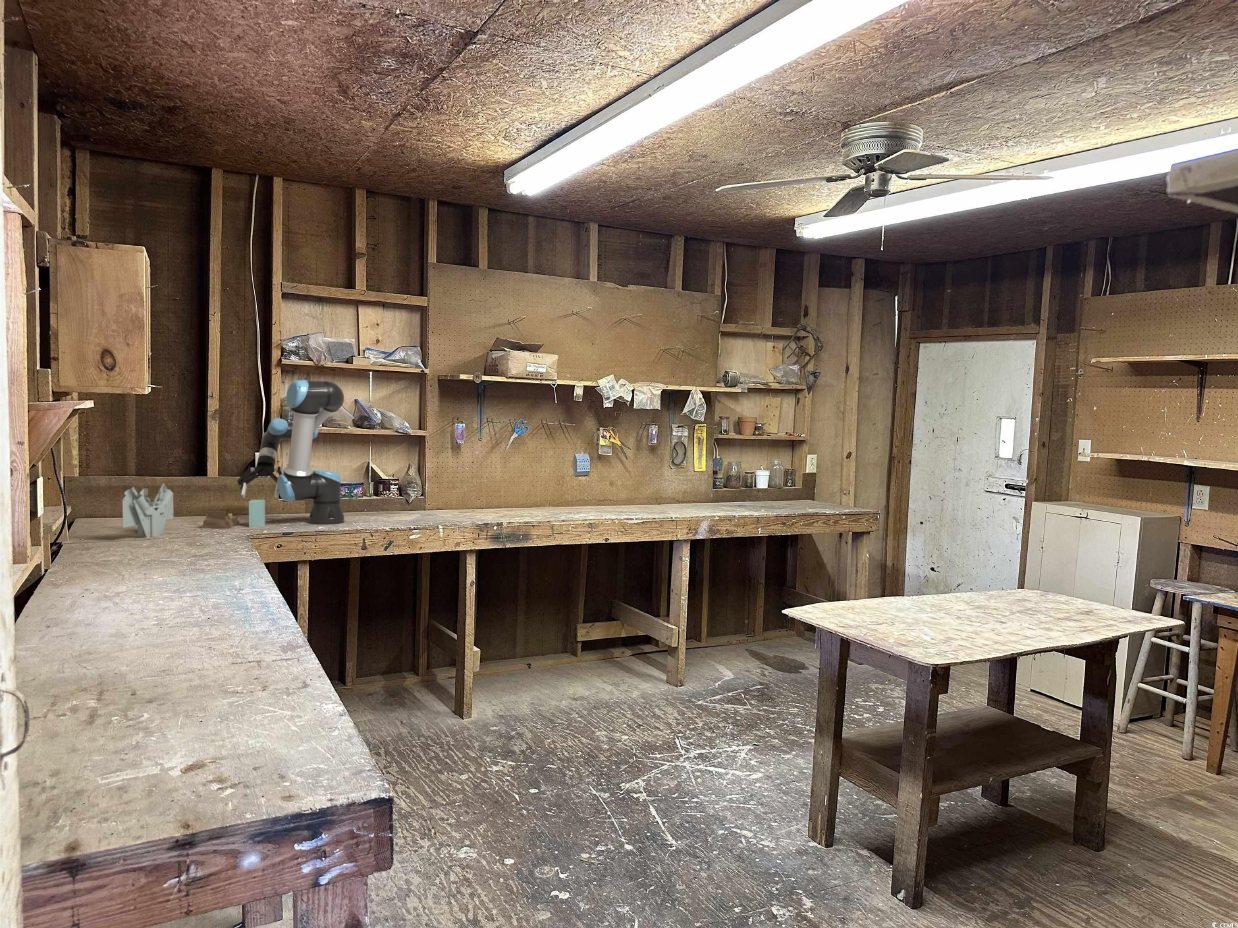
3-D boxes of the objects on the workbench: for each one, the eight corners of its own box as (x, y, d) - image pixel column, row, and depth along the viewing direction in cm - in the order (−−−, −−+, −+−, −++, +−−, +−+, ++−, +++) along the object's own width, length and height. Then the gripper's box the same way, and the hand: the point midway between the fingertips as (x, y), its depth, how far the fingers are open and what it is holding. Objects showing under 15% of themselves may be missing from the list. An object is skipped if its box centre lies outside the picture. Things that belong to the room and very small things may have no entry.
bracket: (132, 541, 307) (131, 488, 306) (115, 540, 308) (114, 487, 307) (181, 531, 334) (181, 482, 333) (166, 530, 335) (165, 482, 334)
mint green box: (252, 524, 356) (252, 499, 356) (265, 524, 357) (264, 499, 357) (249, 527, 350) (248, 501, 349) (261, 526, 351) (261, 501, 350)
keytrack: (212, 523, 357) (211, 507, 357) (239, 523, 359) (238, 507, 359) (201, 528, 343) (201, 511, 342) (230, 528, 345) (230, 511, 344)
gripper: (296, 465, 379) (290, 501, 366) (239, 465, 374) (230, 501, 361) (294, 454, 374) (288, 490, 360) (235, 454, 369) (227, 490, 355)
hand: (259, 496), depth 360 cm, fingers open, 13 cm apart
